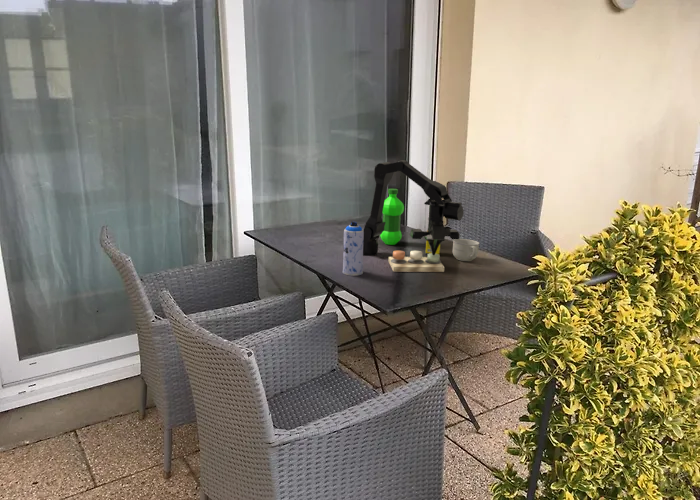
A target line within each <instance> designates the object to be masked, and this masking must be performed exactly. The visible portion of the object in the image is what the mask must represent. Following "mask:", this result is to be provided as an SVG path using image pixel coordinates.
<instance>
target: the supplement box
mask: <svg viewBox="0 0 700 500" xmlns="http://www.w3.org/2000/svg"><path fill="white" fill-rule="evenodd" d="M426 231H427V232H428V229H427V230H426ZM425 240H426V239H425ZM440 252H441V244H440V245H439V246H438V249H437V251H436V253H435V254H439V255H440ZM430 253H432V252H431V248H430V245H429V242H428V241H427V240H426V241H425V255H426V256H427V255H428V254H430Z"/></svg>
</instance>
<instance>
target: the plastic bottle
mask: <svg viewBox="0 0 700 500" xmlns="http://www.w3.org/2000/svg"><path fill="white" fill-rule="evenodd" d="M387 193H388V195H389V196H388V197H387V198H385V201H384V207H383V212H382V221H383V222H385V226H384V231H383V232H382V234H381V235H380V236H379V238H380V240H381V241H382V242H383V243H384V244H385V245H387V246H388V245H391V246H395V245H397V244H398V243H399V242H400V241H401V240H402V236H403V235H402V231H401V220H402V219H401V217H402V216H401V215H403V213H404V211H405V206H404V205H405V204H404V203H403V202H402V201H401V200H400V199H399V198H398V197H397V194H399V189H397V188H387Z"/></svg>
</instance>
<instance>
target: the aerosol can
mask: <svg viewBox="0 0 700 500" xmlns="http://www.w3.org/2000/svg"><path fill="white" fill-rule="evenodd" d="M363 238H364V228H363V227H361V226H360V225H359V224H358V222H357V221H355V220H351V222H350V224H349V225H347V226H346V227H345V228H344V230H343V256H342V257H343V258H342V259H343V261H342V274H343V275H346V276H352V277H353V276H356V277H357V276H360V275H363V273H364V271H363V267H364V265H363V262H364V255H363Z"/></svg>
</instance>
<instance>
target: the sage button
mask: <svg viewBox="0 0 700 500" xmlns="http://www.w3.org/2000/svg"><path fill="white" fill-rule="evenodd" d="M426 257H427V261H429V262H439V260H440V253H439V254H435V255H432V253H430V254H428V255H426Z"/></svg>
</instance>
